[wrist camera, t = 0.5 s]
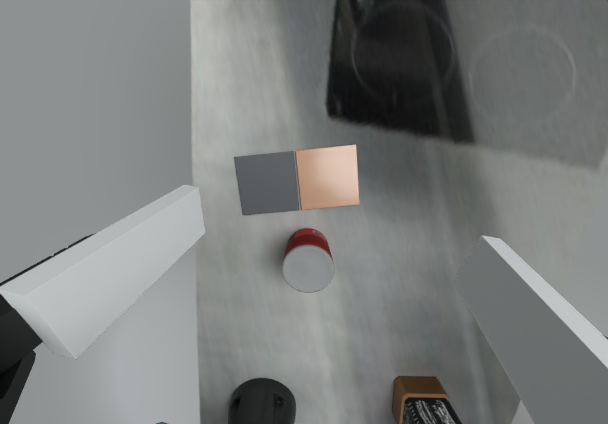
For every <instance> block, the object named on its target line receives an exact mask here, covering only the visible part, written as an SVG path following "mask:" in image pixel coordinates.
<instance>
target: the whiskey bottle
mask: <svg viewBox="0 0 608 424" xmlns="http://www.w3.org/2000/svg"><path fill="white" fill-rule="evenodd" d="M392 412H393V415H394V417H395V420H396V422H397V424H462V423H461V421H460V420H459V418H458V416H457V415H456V413H455V411H454V410H453V408H452V406H451V404H450V403H449V397H448V395H447V394H446V392H445V390H444V388H443V387H442V385H441V383H440V381H439V380H438V379H437V378H436V377H398V378H397V379H395V384H394V394H393V405H392Z"/></svg>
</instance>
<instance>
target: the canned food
mask: <svg viewBox="0 0 608 424" xmlns="http://www.w3.org/2000/svg"><path fill="white" fill-rule="evenodd" d="M282 272H283V276H284V278H285V280H286V282H287V283H288V284H289V285H290V286H291V287H292V288H294V289H296V290H298V291H301V292H306V293H311V292H316V291H320V290H322V289H323V288H325V287H326V286H327V285H328V284H329V283H330V282H331V280H332V278H333V275H334V263H333V259H332V256H331V252H330V249H329V246H328V242H327V240H326V238H325V237H324V235H323V234H322V233H320V232H319V231H317V230H314V229H302V230H299V231H297V232H295V233H294V234H293V235H292V236H291V238H290V240H289V242H288V246H287V249H286V253H285V256H284V260H283V264H282Z"/></svg>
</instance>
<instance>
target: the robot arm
mask: <svg viewBox="0 0 608 424" xmlns="http://www.w3.org/2000/svg"><path fill="white" fill-rule="evenodd" d="M204 234H205V227H204V220H203V214H202V207H201V201H200V194H199V188H198V187H194V186H189V185H183V186H181V187H179V188H177V189H175V190H174V191H172V192H170V193H168V194H166V195H165V196H163V197H161V198H159V199H158V200H156V201H154V202H152V203H150V204H148V205H147V206H145V207H143V208H141V209H139V210H138V211H136V212H134V213H132V214H131V215H129V216H127V217H125V218H123V219H121V220H120V221H118V222H116V223H114V224H112V225H110V226H109V227H107V228H105V229H103V230H101V231H100V232H98V233H95V234H92V235H89V236H87V237H84V238H82V239H81V240H79V241H77V242H75V243H74V244H71V245H70V246H69V247H68V248H64V249H62V250H60V251H59V252H57V253H55V254H54V256H49V257H48V258H46V259H44V260H42V261H40V262H39V263H37V264H35V265H33V266H31V267H29V268H27V269H26V270H24V271H22V272H20V273H18V274H16V275H15V276H13V277H11V278H9V279H7V280H5V281H3V282H2V283H0V424H9V421H10V419H11V417H12V414H13V412H14V409H15V407H16V404H17V402H18V400H19V397H20V395H21V392H22V390H23V388H24V385H25V383H26V381H27V378H28V376H29V373H30V371H31V369H32V366H33V364H34V361H35V356H36V353H35V352H34V351H33V349H34V348H36V347H37V346H38V345H39V344H41V343H42V342H43V343H44V344H45V345H46V346H47V347H48V348H49V350H50V351H51V352H52V353H53V354H57V355H60V356H64V357H68V358H71V359H75V360H76V359H77V358H78V357H79V356H80V355H81V354H82V353H83V352H84V351H85V350H86V349H87V348H88V347H89V346H90V345H91V344H92V343H93V342H94V341H95V340H96V339H97V338H98V337H99V336H100V335H101V334H102V333H103V332H104V331H105V330H106V329H107V328H109V326H111V325H112V324H113V323H114V322H115V321H116V320H117V319H118V318H119V317H120V316H121V315H122V314H123V313H124V312H125V311H126V310H127V309H128V308H129V307H130V306H131V305H132V304H133V303H134V302H135V301H136V300H137V299H138V298H139V297H140V296H141V295H142V294H143V293H144V292H145V291H146V290H147V289H148V288H149V287H151V286H152V285H153V284H154V283H155V282H156V280H158V279H159V278H160V276H162V275H163V274H164V273H165V272H166V271H167V270H168V269H169V268H170V267H171V266H172V265H173V264H174V263H175V262H176V261H177V260H178V259H179V258H180V257H181V256H182V255H183V254H184V253H185V252H186V251H187V250H188V249H189V248H190V247H191V246H192V245H193V244H195V243H196V242H197V241H198V240H199V239H200V238H201V237H202V236H203V235H204ZM453 281H454V283H455V285H456V286H457V288H458V290H459V292H460V293H461V295H462V297H463V299H464V300H465V302H466V304H467V306H468V307H469V309H470V311H471V313H472V314H473V316H474V318H475V320H476V322H477V323H478V325H479V327H480V329H481V330H482V332H483V334H484V336H485V337H486V339H487V341H488V343H489V344H490V346H491V348H492V350H493V351H494V353H495V355H496V357H497V358H498V360H499V362H500V364H501V365H502V367H503V369H504V371H505V372H506V374H507V376H508V378H509V379H510V381H511V383H512V385H513V386H514V388H515V390H516V392H517V393H518V395H519V397H520V399H521V400H522V402H523V404H524V406H525V407H526V409H527V411H528V412H529V414H530V416H531V418H532V420H533V421H534V423H535V424H608V338H607V337H606V336H604V335H603V334H601V333H600V332H599V331H598V330H597V329H596V328H595V327H594V326H593V325H592V324H590V323H589V322H588V321H587V320H586V319H585V318H584V317H583V316H582V315H581V314H580V313H579V312H578V311H577V310H576V309H575V308H574V307H572V306H571V305H570V304H569V303H568V302H567V301H566V300H565V299H564V298H563V297H562V296H561V295H560V294H559V293H558V292H557V291H555V290H554V289H553V288H552V287H551V286H550V285H549V284H548V283H547V282H546V281H545V280H544V279H543V278H542V277H541V276H540V275H538V274H537V273H536V272H535V271H534V270H533V269H532V268H531V267H530V266H529V265H528V264H527V263H526V262H525V261H524V260H523V259H521V258H520V257H519V256H518V255H517V254H516V253H515V252H514V251H513V250H512V249H511V248H510V247H509V246H508V245H507V244H505V243H504V242H503V241H502V240H501V239H499V238H493V237H487V236H481V237H480V239H479V240H478V242H477V243H476V245H475V247H474V248H473V250H472V251H471V253H470V255H469V256H468V258H467V260H466V261H465V263H464V264H463V266H462V268H461V269H460V271H459V272H458V274H457V276H456V277H455V279H454V280H453ZM295 416H296V402H295V399H294V396H293V394H292V393H291V392H290V390H289V389H288V388H287V387H285V386H284V385H283V384H281V383H279V382H277V381H274V380H270V379H254V380H250V381H247V382H245V383H244V384H242V385H241V386H240V387H238V389H237V390H236V391H235V393H234V395H233V397H232V400H231V403H230V407H229V413H228V424H294V422H295ZM157 424H167V423H163V422H160V423H157Z"/></svg>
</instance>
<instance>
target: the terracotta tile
mask: <svg viewBox="0 0 608 424" xmlns="http://www.w3.org/2000/svg"><path fill="white" fill-rule="evenodd" d="M296 157H297V167H298V177H299V187H300V197H301V207H302V210H304V209H315V208H326V207H336V206H347V205H358V204H359V193H358V174H357V155H356V145H349V146H339V147H330V148H320V149H310V150H301V151H296Z"/></svg>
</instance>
